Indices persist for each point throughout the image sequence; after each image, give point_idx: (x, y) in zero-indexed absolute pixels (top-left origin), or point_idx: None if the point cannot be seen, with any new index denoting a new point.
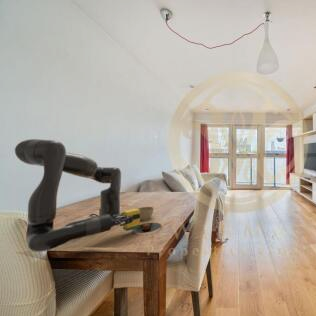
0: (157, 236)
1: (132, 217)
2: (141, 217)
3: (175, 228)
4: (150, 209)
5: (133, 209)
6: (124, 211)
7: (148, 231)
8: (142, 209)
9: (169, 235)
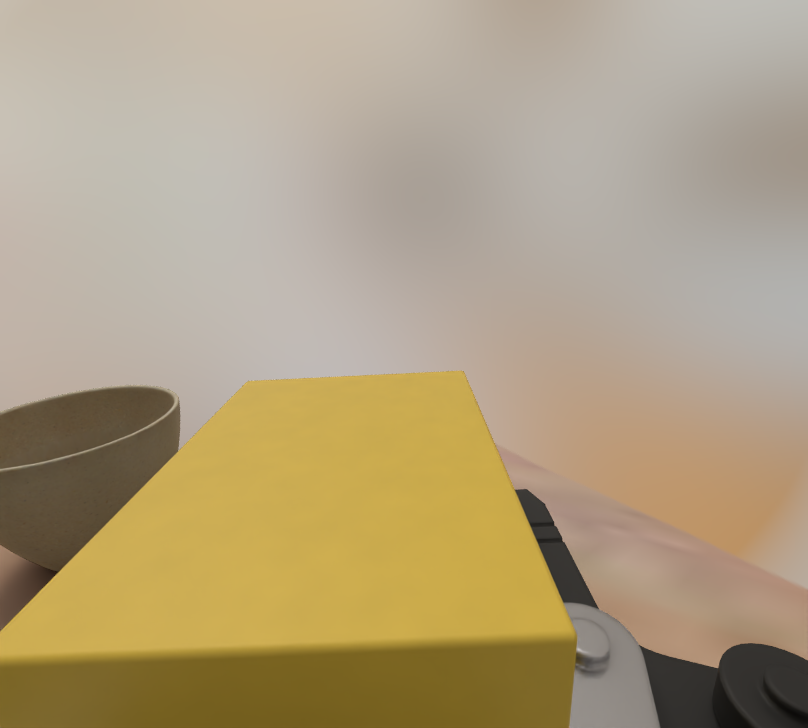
0: (691, 641)
1: (787, 672)
2: (97, 525)
3: (556, 477)
4: (107, 413)
5: (296, 412)
6: (164, 648)
7: None
8: (2, 439)
9: (715, 556)
